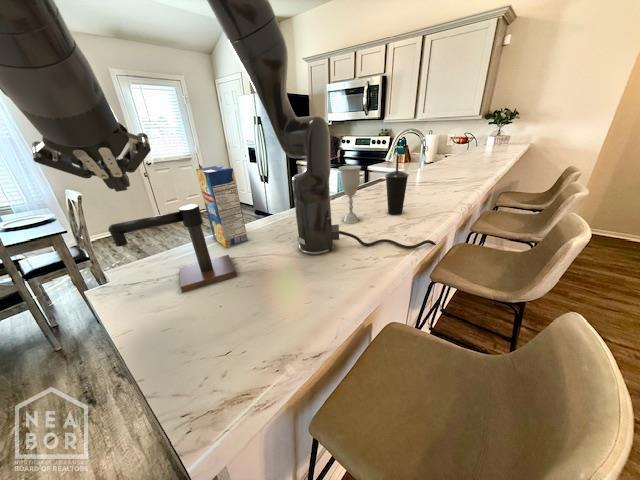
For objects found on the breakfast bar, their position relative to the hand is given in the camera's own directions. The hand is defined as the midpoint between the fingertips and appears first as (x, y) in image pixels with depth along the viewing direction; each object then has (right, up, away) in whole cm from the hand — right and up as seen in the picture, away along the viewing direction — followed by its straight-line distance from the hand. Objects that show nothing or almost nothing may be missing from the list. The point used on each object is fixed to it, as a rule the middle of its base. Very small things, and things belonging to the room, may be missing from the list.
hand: (121, 186), depth 42 cm
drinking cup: (+59, +1, +53) cm, 79 cm away
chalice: (+43, -2, +49) cm, 65 cm away
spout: (-2, -8, +15) cm, 17 cm away
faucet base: (+4, -17, +22) cm, 28 cm away
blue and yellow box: (+3, -8, +42) cm, 43 cm away
